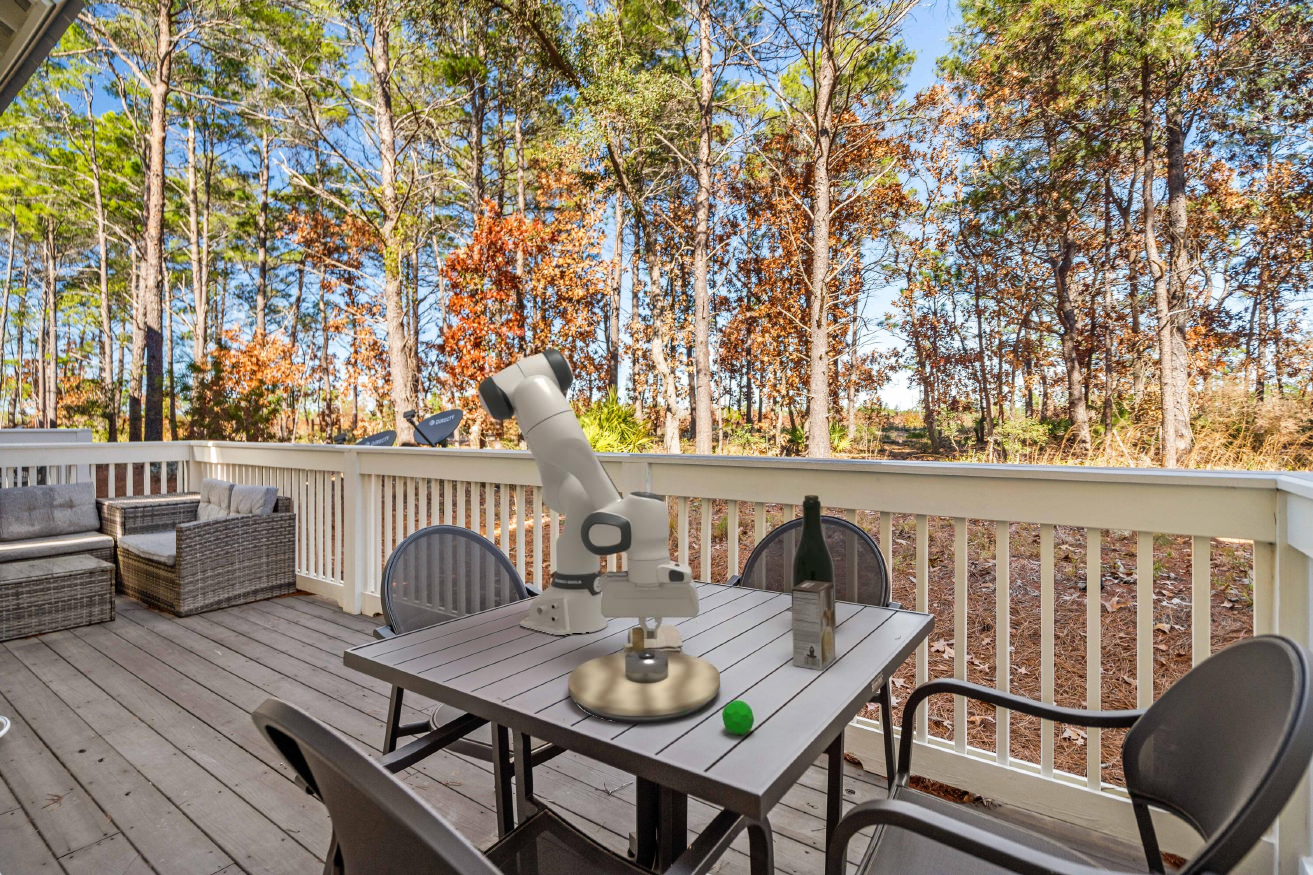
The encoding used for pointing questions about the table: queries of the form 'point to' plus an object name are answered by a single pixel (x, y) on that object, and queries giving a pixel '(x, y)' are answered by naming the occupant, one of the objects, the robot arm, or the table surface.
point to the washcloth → (663, 639)
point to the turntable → (643, 684)
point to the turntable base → (646, 719)
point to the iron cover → (646, 666)
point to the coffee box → (813, 624)
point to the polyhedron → (738, 717)
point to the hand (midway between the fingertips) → (651, 638)
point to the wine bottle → (812, 549)
